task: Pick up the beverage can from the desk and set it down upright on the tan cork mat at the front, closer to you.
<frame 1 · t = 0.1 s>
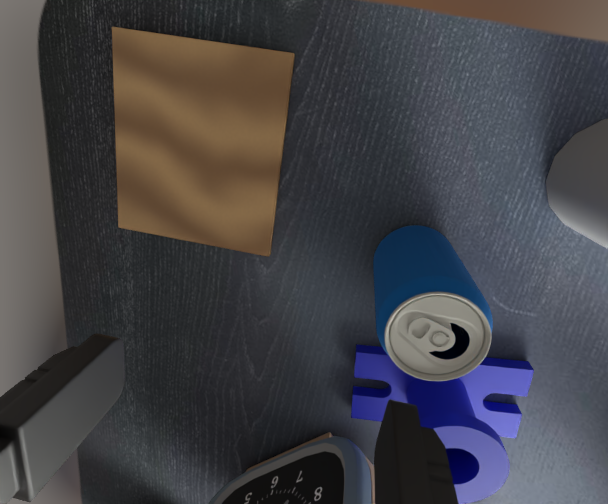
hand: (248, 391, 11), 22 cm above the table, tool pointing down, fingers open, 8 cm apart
alarm clock: (306, 472, 43), on the table
beverage can: (412, 258, 32), on the table
mount: (433, 385, 36), on the table
cork mat: (198, 149, 32), on the table
cup: (607, 177, 28), on the table
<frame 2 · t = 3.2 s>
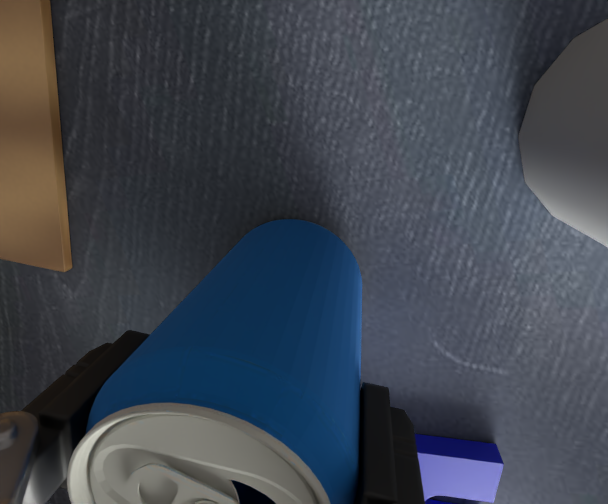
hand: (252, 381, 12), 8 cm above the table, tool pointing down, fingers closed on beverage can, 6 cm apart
beverage can: (296, 276, 19), on the table, touching gripper
mount: (350, 472, 23), on the table
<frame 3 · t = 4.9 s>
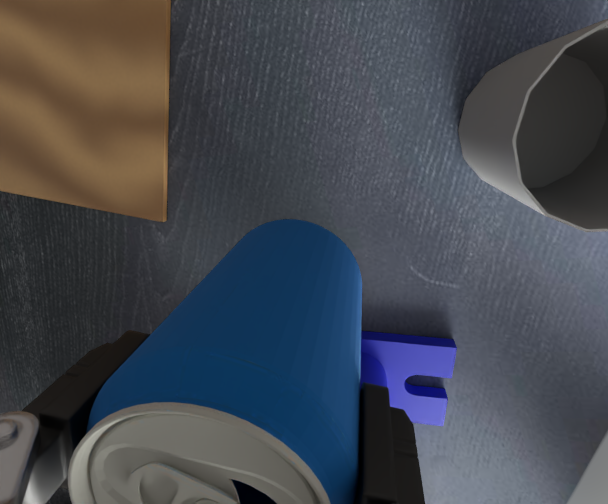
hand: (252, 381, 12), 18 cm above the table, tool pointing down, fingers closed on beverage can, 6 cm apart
beverage can: (296, 276, 19), point 10 cm above the table, touching gripper
mount: (354, 367, 33), on the table
cork mat: (78, 99, 28), on the table
cup: (526, 123, 25), on the table
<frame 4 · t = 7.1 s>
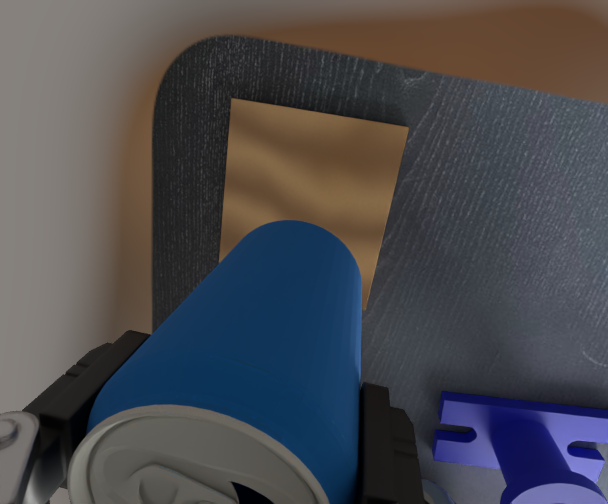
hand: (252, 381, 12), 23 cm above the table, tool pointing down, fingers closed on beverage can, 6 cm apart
beverage can: (296, 277, 19), point 15 cm above the table, touching gripper
mount: (515, 429, 38), on the table
cork mat: (304, 210, 33), on the table
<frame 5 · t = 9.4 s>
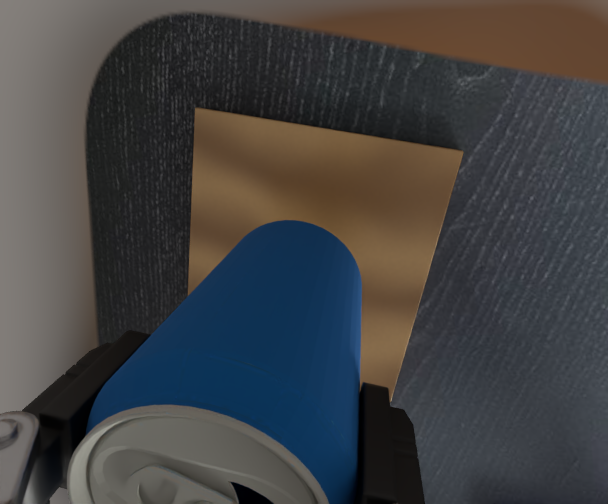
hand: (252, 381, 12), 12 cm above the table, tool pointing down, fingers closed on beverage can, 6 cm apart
beverage can: (296, 277, 19), point 4 cm above the table, touching gripper
cork mat: (304, 266, 23), on the table
when the fingers open (8 cm above the table, at t = 11.0 s): beverage can stays where it is, resting on cork mat.
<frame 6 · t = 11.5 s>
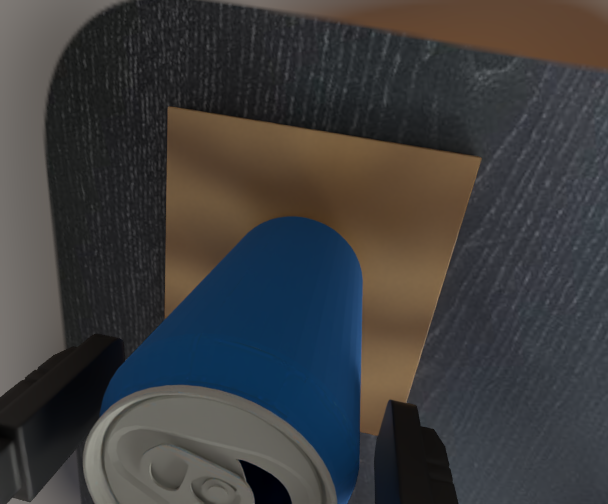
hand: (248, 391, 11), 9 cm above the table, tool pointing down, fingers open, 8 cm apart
beverage can: (298, 273, 19), resting on cork mat
cork mat: (296, 287, 20), on the table
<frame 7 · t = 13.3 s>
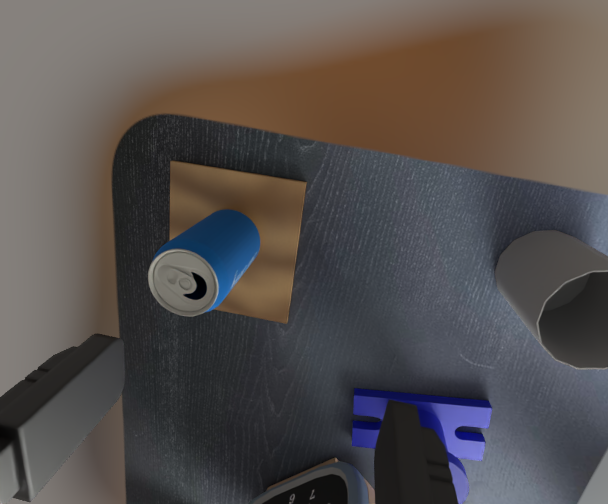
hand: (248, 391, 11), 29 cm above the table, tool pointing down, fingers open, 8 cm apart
alarm clock: (317, 490, 52), on the table
beverage can: (233, 236, 41), resting on cork mat
mount: (416, 419, 46), on the table
cork mat: (233, 244, 42), on the table
cup: (539, 270, 38), on the table
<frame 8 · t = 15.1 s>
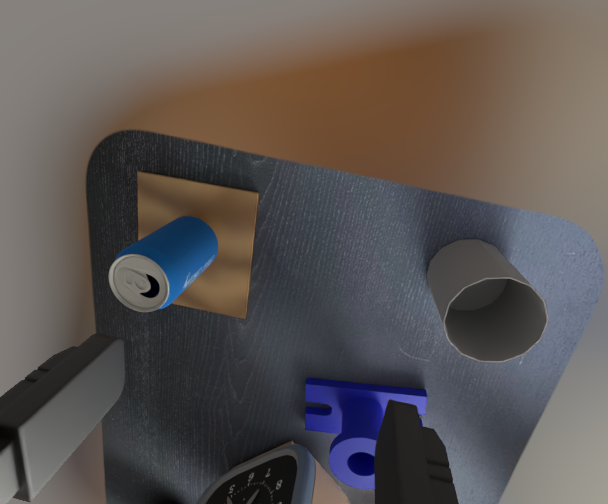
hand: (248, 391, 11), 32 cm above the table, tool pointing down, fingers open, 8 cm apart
alarm clock: (277, 470, 57), on the table
beverage can: (195, 240, 45), resting on cork mat
mount: (363, 406, 51), on the table
cork mat: (195, 247, 46), on the table
cup: (465, 274, 42), on the table
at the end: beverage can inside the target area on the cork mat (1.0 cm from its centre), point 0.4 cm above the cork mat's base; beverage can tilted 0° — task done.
